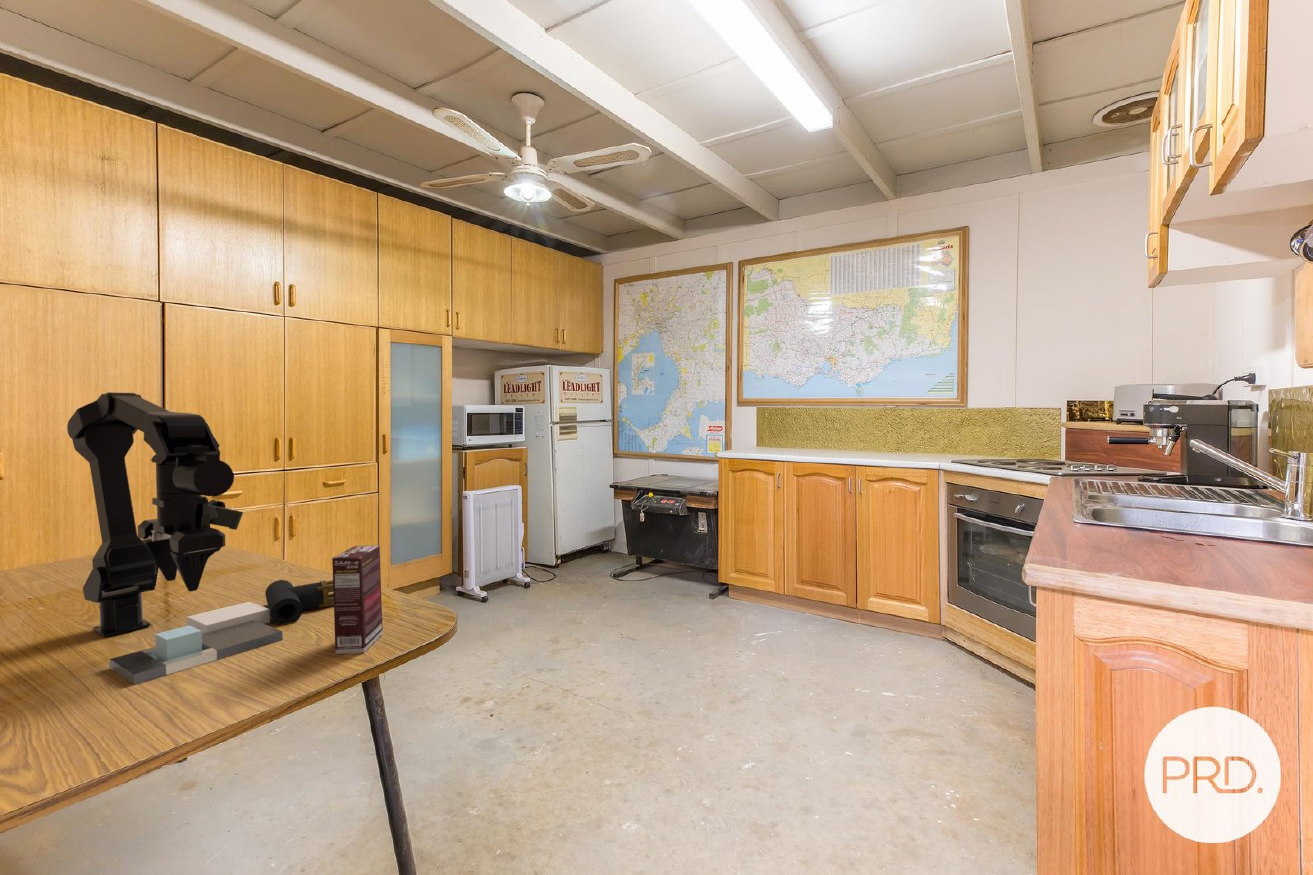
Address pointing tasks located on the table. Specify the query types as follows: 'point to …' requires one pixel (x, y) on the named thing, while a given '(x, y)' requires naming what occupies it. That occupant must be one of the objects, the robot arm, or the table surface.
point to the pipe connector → (296, 599)
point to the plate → (213, 648)
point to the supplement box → (357, 599)
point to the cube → (177, 643)
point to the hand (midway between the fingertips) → (181, 585)
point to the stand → (229, 617)
